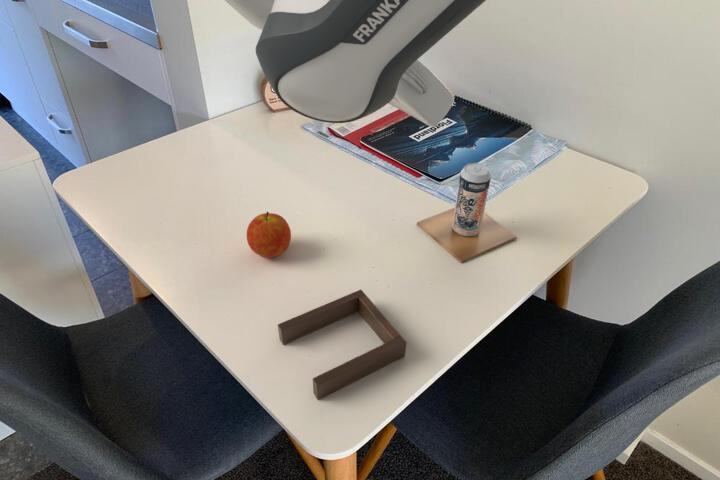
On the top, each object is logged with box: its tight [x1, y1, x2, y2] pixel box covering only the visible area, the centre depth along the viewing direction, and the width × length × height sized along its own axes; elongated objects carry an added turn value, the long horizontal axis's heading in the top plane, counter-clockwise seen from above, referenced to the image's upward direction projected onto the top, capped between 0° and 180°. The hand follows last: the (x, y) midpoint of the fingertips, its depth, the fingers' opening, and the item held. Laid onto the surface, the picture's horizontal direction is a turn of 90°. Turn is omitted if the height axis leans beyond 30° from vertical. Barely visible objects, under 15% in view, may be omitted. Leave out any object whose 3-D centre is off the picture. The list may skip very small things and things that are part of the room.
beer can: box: [452, 162, 492, 236], centre depth 86 cm, size 5×5×12 cm
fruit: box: [246, 211, 292, 259], centre depth 83 cm, size 7×7×8 cm
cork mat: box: [416, 207, 517, 264], centre depth 90 cm, size 12×12×1 cm
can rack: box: [277, 289, 407, 401], centre depth 69 cm, size 11×13×3 cm
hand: (406, 104), depth 61 cm, fingers open, 8 cm apart
